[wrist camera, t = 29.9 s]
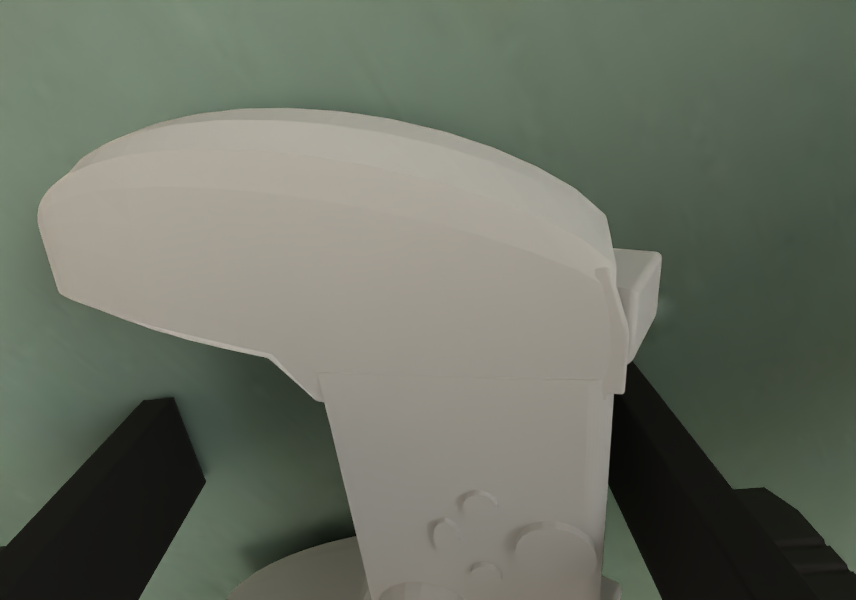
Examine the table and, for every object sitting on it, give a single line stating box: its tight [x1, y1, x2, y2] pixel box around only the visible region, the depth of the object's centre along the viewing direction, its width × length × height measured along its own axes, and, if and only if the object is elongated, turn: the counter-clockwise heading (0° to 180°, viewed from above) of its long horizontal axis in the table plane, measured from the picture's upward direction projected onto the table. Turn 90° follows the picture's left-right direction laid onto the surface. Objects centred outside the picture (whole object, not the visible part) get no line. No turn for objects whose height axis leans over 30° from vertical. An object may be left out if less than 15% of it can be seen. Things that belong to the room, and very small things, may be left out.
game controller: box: [37, 108, 662, 600], centre depth 10 cm, size 14×4×10 cm
